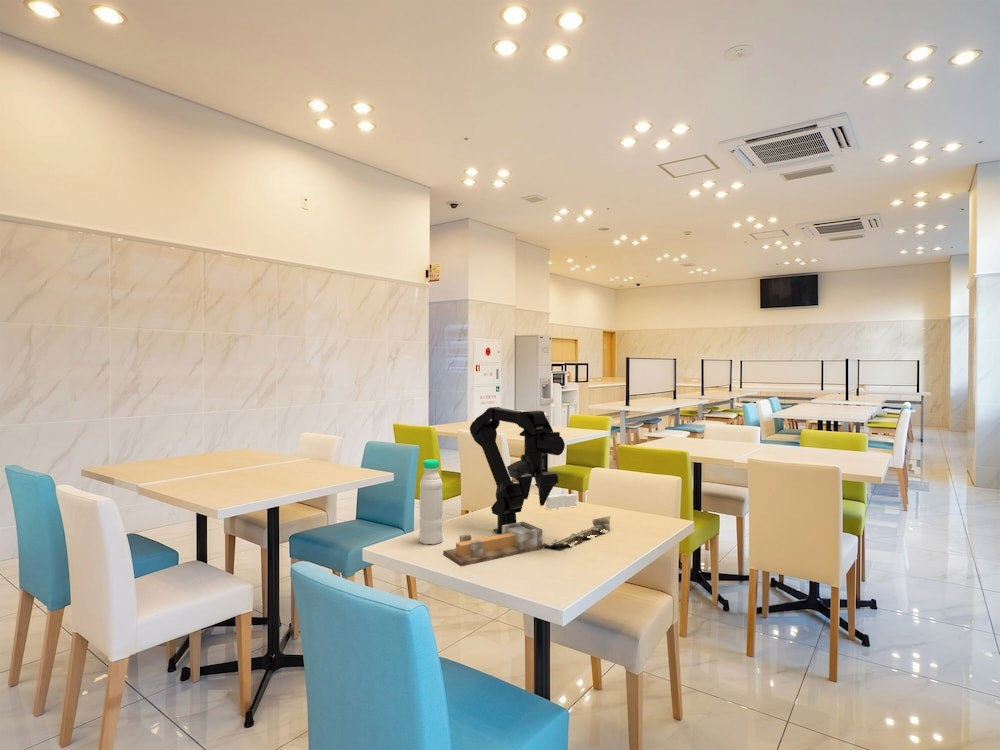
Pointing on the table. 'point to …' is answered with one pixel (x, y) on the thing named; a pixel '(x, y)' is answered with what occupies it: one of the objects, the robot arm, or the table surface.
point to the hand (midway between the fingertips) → (533, 502)
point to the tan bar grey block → (492, 542)
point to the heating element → (584, 533)
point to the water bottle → (431, 504)
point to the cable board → (526, 543)
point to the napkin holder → (561, 501)
